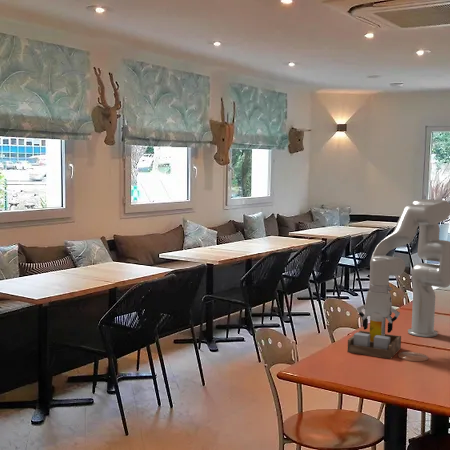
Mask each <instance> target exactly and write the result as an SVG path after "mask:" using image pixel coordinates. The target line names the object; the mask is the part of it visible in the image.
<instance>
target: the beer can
mask: <svg viewBox="0 0 450 450" xmlns="http://www.w3.org/2000/svg"><path fill="white" fill-rule="evenodd" d="M386 320H387V318H383V317H382V315H381V314H380V313H374V312H373V314H371V316H369V332H370V341H372V342H374V337H375V336H376V335H380V336H385V334H386V323H387V322H386Z"/></svg>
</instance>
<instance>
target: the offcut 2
mask: <svg viewBox="0 0 450 450" xmlns="http://www.w3.org/2000/svg"><path fill="white" fill-rule="evenodd" d="M390 338H391V337H388V336H380V335H376V336H375V337H374V348H379V349H385V350H388V346H389V345H390Z"/></svg>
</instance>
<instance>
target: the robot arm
mask: <svg viewBox="0 0 450 450" xmlns="http://www.w3.org/2000/svg"><path fill="white" fill-rule="evenodd" d="M449 217H450V203H449V201H447V200H443V199H428V198H426V199H425V198H424V199H423V198H421V199H418V198H417V199H414V200H413V201H412V202H411V204H407V205H405V206H404V207H403V209H402V211H401V213H400V216H399V218H398V220H397V223H396V225H395V227H394V229H393V230H392V231H393V232H391V234H389V235H388V236H387V235H386V237H385V238H383V239H382V240H381V241H380V242H379V243H378V244H377V245H376V246H375V248H374V251H373V252H372V255H371V258H370V261H369V266H370V269H369V289H368V290H367V293H366V298H365V304H363V305H360V306H358V307H357V308H356V310H357V312H358V315H359V316H360V317H361V319H362V327H363V331H366V330H367V329H368V325H369V320H368V319H369V318H368V317H370V316H371V314H373V312H374V313H380V314H381V315H382V317H383V318H386V320H387V321H388V323H387V334H390V333H391V332H392V331H393V323H394V322H395V321H396V320H397V319H398V318H399V316H400V314H401V312H400V311H399V310H397V309H396V308H394V307H393V302H392V300H393V299H392V294H391V292H390V291H393V286H390V276H400V275H402V274H403V273H404V271H405V270H406V262H405V260H403V259H402V258H401V257H398V256H389V255H387V254H388V253H389V252H390V251H392V250H394V249H396V248H400V247H402V246H405V245H407V244H411V243H412V241H413V240H414V237H415V236H416V233H417V230H418V228H419V235H418V241H417V257H418V258H419V259H421V260H422V261H430V262H437V263H439V264H433V263H428V262H427V263H426V262H419V263H416V264H415V265H414V266H413V267H412V268H411V280H412V308H411V309H412V310H411V315H412V316H411V328H408V329H407V333H408V334H410V335H412V336H415V337H416V336H417V337H421V338H431V337H436V336H438V331H437V330H435V316H436V315H435V313H436V292H435V289H434V288H433V287H437V288H449V286H450V241H448V240H444V239H443V240H442V239H440V232H441V231H440V230H441V229H440V225H439V223H441V222H444V221H445V220H447V219H448V218H449ZM363 309H364V312H363V311H362V310H363ZM392 313H393V314H394V316H393V317H392Z"/></svg>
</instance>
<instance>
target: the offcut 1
mask: <svg viewBox="0 0 450 450" xmlns="http://www.w3.org/2000/svg"><path fill="white" fill-rule="evenodd" d="M358 332H359V331H358ZM358 332H357V331H356V332H355V333H354V334H353V336H354V345H358V346H365V347H370V334H366V333H358Z"/></svg>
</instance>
